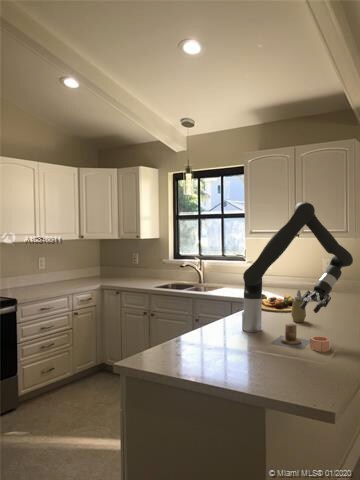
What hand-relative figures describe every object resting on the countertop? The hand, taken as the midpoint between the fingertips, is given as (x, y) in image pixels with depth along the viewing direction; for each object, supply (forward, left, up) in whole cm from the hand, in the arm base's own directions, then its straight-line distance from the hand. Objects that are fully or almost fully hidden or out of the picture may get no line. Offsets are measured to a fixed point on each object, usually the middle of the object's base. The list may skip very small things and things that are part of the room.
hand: (308, 310), depth 193 cm
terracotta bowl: (+9, -12, -14) cm, 21 cm away
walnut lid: (-5, -9, -14) cm, 18 cm away
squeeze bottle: (-14, +35, -15) cm, 40 cm away
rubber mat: (-5, -9, -14) cm, 18 cm away
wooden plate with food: (-37, +66, -15) cm, 77 cm away
